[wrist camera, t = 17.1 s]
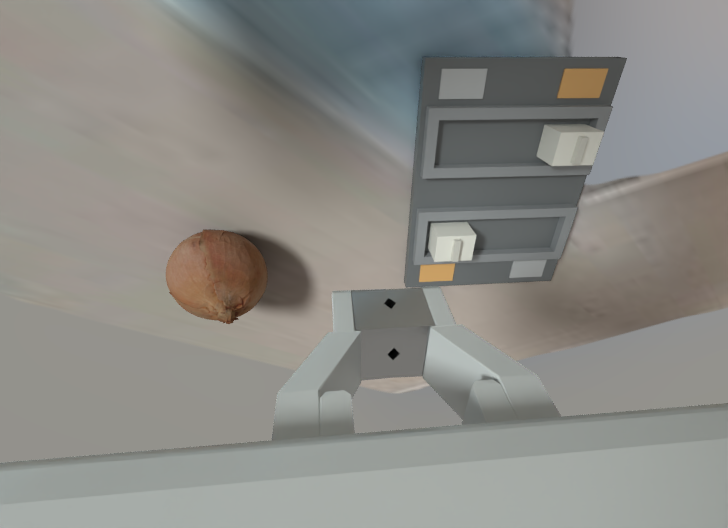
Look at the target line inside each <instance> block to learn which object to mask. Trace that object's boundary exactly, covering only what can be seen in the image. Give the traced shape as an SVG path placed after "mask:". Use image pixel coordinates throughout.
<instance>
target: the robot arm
mask: <svg viewBox="0 0 728 528" xmlns="http://www.w3.org/2000/svg"><path fill="white" fill-rule="evenodd" d="M332 310H333V332H329V333H327V334H326V336H325V337H324V338H323V339H322V340H321V342H320V343H319V344H318V345H317V346H316V348H315V349H314V350H313V351H312V352H311V354H310V355H309V356H308V357H307V358H306V360H305V361H304V362H303V363H302V364H301V366H300V367H299V368H298V369H297V370H296V372H295V373H294V374H293V375H292V376H291V378H290V379H289V380H288V381H287V383H286V384H285V385H284V386H283V387H282V389H281V390H280V391H279V392H278V393H277V401H276V409H275V418H274V426H273V434H272V440H271V441H259V442H247V443H235V444H223V445H212V446H199V447H186V448H174V449H162V450H150V451H138V452H126V453H114V454H102V455H89V456H77V457H66V458H53V459H42V460H29V461H17V462H5V463H0V528H728V403H723V404H710V405H698V406H687V407H674V408H662V409H649V410H638V411H625V412H613V413H600V414H590V415H589V414H588V415H576V416H564V417H561V415H560V413H559V412H558V410H557V408H556V406H555V405H554V403H553V401H552V400H551V398H550V397H549V395H548V393H547V391H546V389H545V388H544V386H543V384H542V383H541V381H540V379H539V378H538V376H537V375H536V374H534V373H533V372H531V371H530V370H528V369H527V368H526V367H524V366H523V365H521V364H519V363H518V362H517V361H515V360H514V359H512V358H511V357H509V356H508V355H506V354H505V353H503V352H502V351H500V350H499V349H497V348H496V347H494V346H493V345H491V344H490V343H488V342H487V341H485V340H484V339H482V338H481V337H479V336H478V335H477V334H475V333H474V332H472V331H471V330H469V329H468V328H466V327H465V326H463V325H456V322H455V320H454V318H453V315H452V313H451V311H450V309H449V306H448V304H447V302H446V299H445V297H444V295H443V293H442V290H441V288H440V287H439V286H428V287H420V288H404V289H379V290H351V292H350V290H349V291H332ZM415 376H423V378H424V380H425V381H426V382H427V383H428V384H429V385H430V386H431V387H432V388H433V389H434V390H435V391H436V392H437V393H438V394H439V395H440V396H441V397H442V398H443V399H444V400H445V402H446V403H447V404H448V405H449V406H450V407H451V408H452V409H453V410H454V411H455V412H456V413H457V414H458V415H459V416H460V417H461V419H462V420H463V421H462V425H454V426H442V427H430V428H418V429H405V430H394V431H381V432H369V433H357V434H355V432H354V421H353V410H352V398H353V396H354V394H355V392H356V391H357V389H358V387H359V385H360V383H361V380H371V379H381V378H392V377H415Z"/></svg>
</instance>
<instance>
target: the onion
mask: <svg viewBox="0 0 728 528" xmlns="http://www.w3.org/2000/svg"><path fill="white" fill-rule="evenodd" d="M166 281H167V285H168V288H169V290H170V292H169V293H170V294H171V295H172V296H173V297H174V299H175V300H176V301H177V303H178V304H179V305H180V306H181V307H182V308H183V309H185V310H186V311H188V312H189V313H191V314H193V315H195V316H198V317H201V318H205V319H210V320H218V321H220V322H223V323H225V322H226V324H230V323H233V321H234V320H237V319H238V318H236V317H238V316H241V315H243V314H245V313H247V312H248V311H250V310H251V309H252V308H253V307H254V306H255V305H256V304H257V303H258V301H259V300H260V298H261V297H262V295H263V294H264V292H265V289H266V285H267V268H266V264H265V261H264V258H263V256H262V255H261V253H260V252H259V250H258V249H257V248H256V247H255V245H253V244H252V243H251V242H250V241H249V240H247V239H246V238H244V237H242V236H240V235H238V234H235V233H233V232H229V231H224V230H203V232H200V233H197V234H195V235H192V236H191V237H189V238H187V239H186V240H184V241H183V242H181V243H180V244H179V245H178V246H177V248H176V249H175V250H174V251H173V253H172V255H171V256H170V258H169V261H168V264H167V267H166ZM238 320H239V319H238Z"/></svg>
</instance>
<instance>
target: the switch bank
mask: <svg viewBox="0 0 728 528" xmlns="http://www.w3.org/2000/svg"><path fill="white" fill-rule="evenodd" d="M626 59H627V58H621V57H422V66H421V79H420V91H419V103H418V116H417V128H416V140H415V153H414V165H413V178H412V190H411V202H410V215H409V227H408V239H407V252H406V264H405V276H404V283H405V286H406V287H425V286H447V285H468V284H489V283H510V282H532V281H551V279H552V276H553V273H554V270H555V267H556V264H557V261H558V259H560V258H561V255H562V252H563V249H564V247H565V244H566V241H567V238H568V235H569V232H570V229H571V226H572V223H573V221H574V218H575V215H576V212H577V209H578V207H576V206H577V203H578V200H579V197H580V194H581V191H582V188H583V185H584V182H585V179H586V176H587V175H589V174H590V171H591V169H592V166H593V165H579V166H551V165H549V164H548V163H546V162H545V161H543V160H541V159H540V158H538V157H537V156H536V155H537V152H538V148H539V144H540V140H541V136H542V132H543V128H544V125H546V124H586V125H589V126H591V127H593V128H596V129H598V130H601V131H603V132H604V131H605V128H606V125H607V122H608V119H609V116H610V114H611V111H612V108H613V107H612V106H611V103H612V100H613V98H614V95H615V92H616V89H617V86H618V82H619V80H620V77H621V74H622V71H623V68H624V65H625V63H626ZM449 222H468V224H469V225H470V227H471V228H472V230H473V231H474V232H475V234H476V240H475V245H474V251H473V256H472V260H467V261H458V262H452V261H444V262H434V260H433V258H432V256H431V253H430V251H429V249H428V241H429V232H430V224H431V223H449Z"/></svg>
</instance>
